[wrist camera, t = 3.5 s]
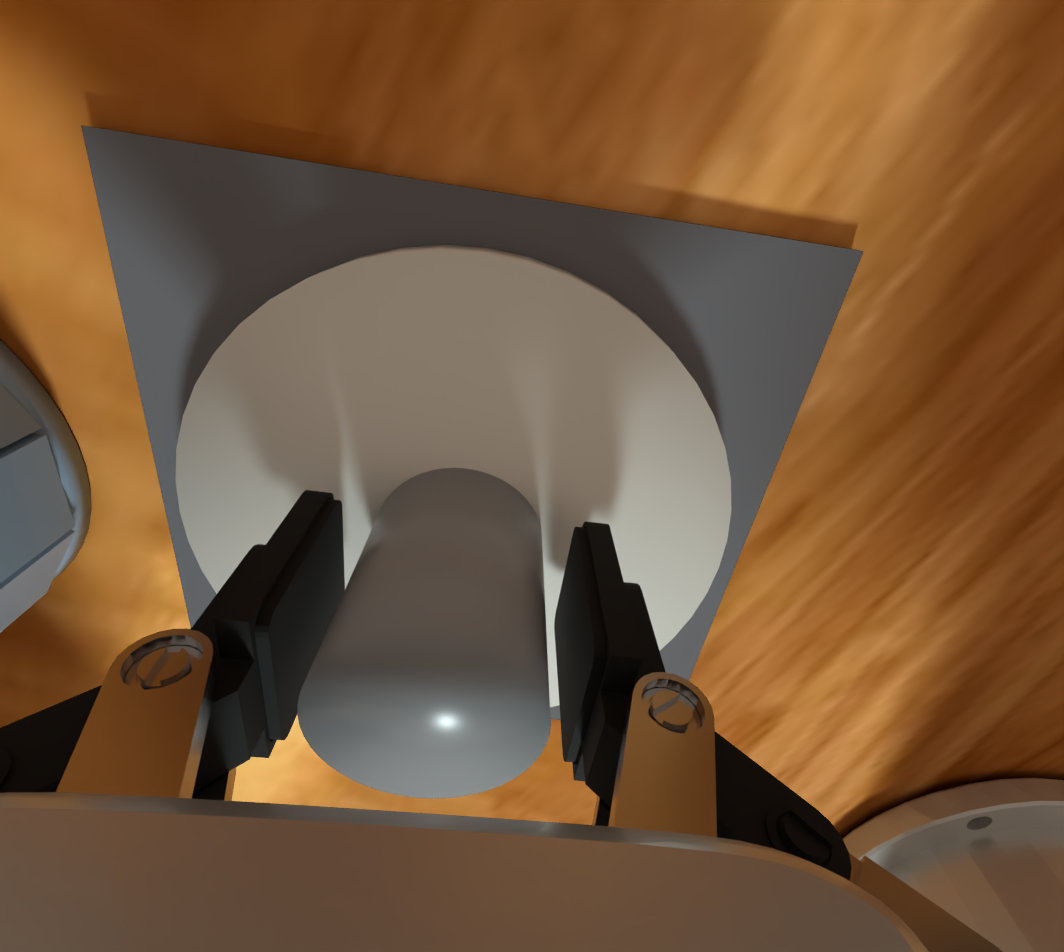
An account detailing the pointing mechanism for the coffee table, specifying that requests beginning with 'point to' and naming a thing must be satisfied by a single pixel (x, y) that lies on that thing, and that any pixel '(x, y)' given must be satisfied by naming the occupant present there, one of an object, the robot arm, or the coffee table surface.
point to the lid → (452, 491)
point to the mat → (462, 220)
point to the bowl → (36, 490)
